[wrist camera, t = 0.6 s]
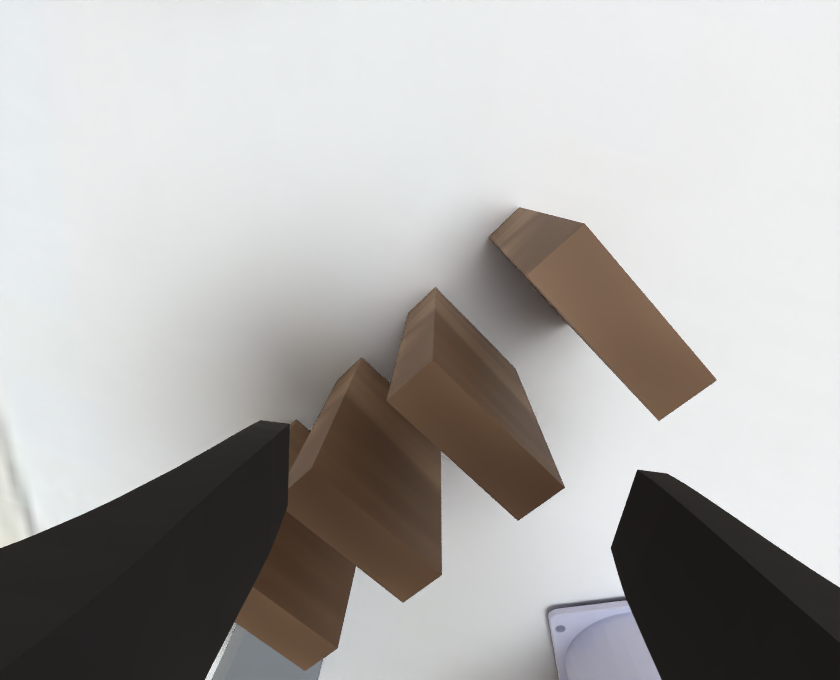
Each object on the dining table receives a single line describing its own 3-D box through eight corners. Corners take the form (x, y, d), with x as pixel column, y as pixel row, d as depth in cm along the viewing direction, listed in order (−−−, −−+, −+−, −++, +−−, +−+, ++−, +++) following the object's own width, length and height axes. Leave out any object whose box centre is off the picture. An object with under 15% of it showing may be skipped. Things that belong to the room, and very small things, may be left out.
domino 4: (487, 391, 19) (518, 520, 12) (408, 313, 18) (386, 400, 11) (515, 368, 19) (565, 487, 11) (435, 287, 18) (432, 359, 10)
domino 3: (415, 450, 21) (402, 602, 13) (337, 380, 20) (274, 501, 12) (440, 430, 20) (441, 575, 13) (361, 357, 19) (311, 467, 12)
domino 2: (352, 503, 22) (304, 671, 14) (274, 439, 21) (180, 584, 13) (373, 485, 21) (337, 648, 14) (296, 419, 20) (211, 556, 13)
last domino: (568, 324, 18) (659, 421, 11) (488, 237, 17) (526, 275, 10) (599, 298, 18) (716, 380, 10) (520, 207, 17) (585, 223, 9)
